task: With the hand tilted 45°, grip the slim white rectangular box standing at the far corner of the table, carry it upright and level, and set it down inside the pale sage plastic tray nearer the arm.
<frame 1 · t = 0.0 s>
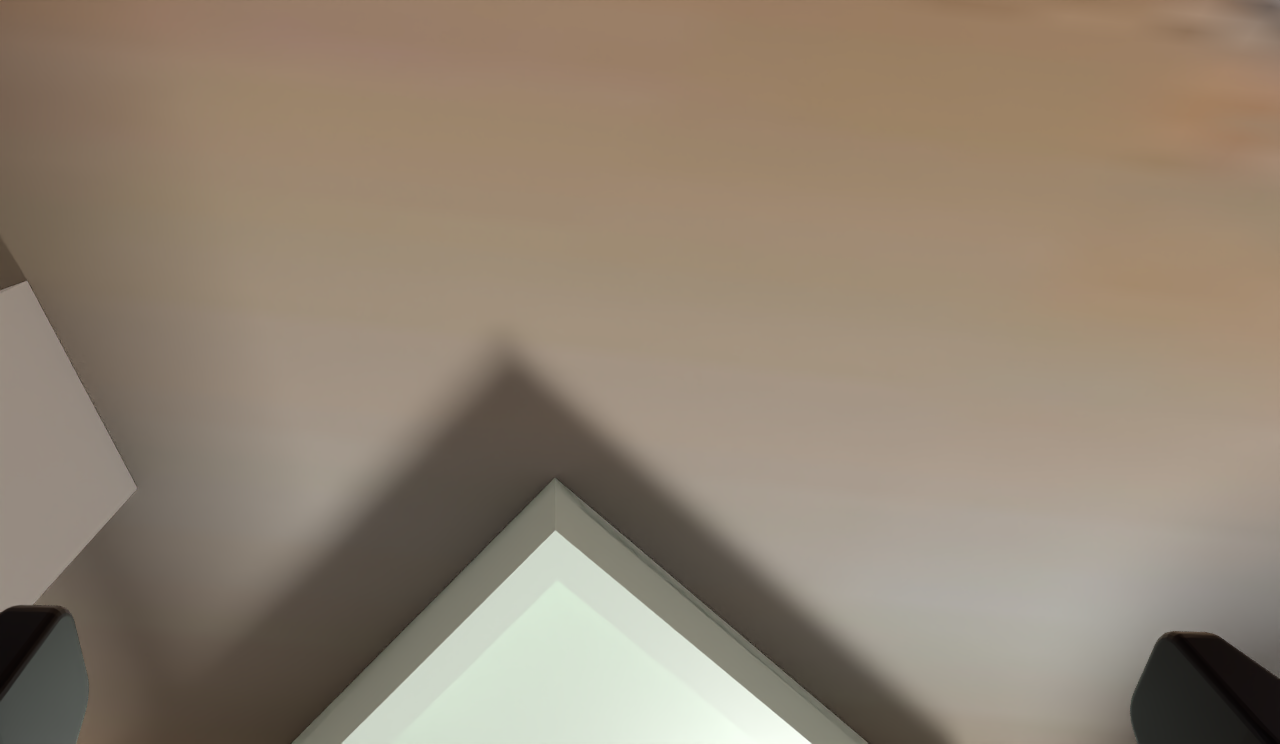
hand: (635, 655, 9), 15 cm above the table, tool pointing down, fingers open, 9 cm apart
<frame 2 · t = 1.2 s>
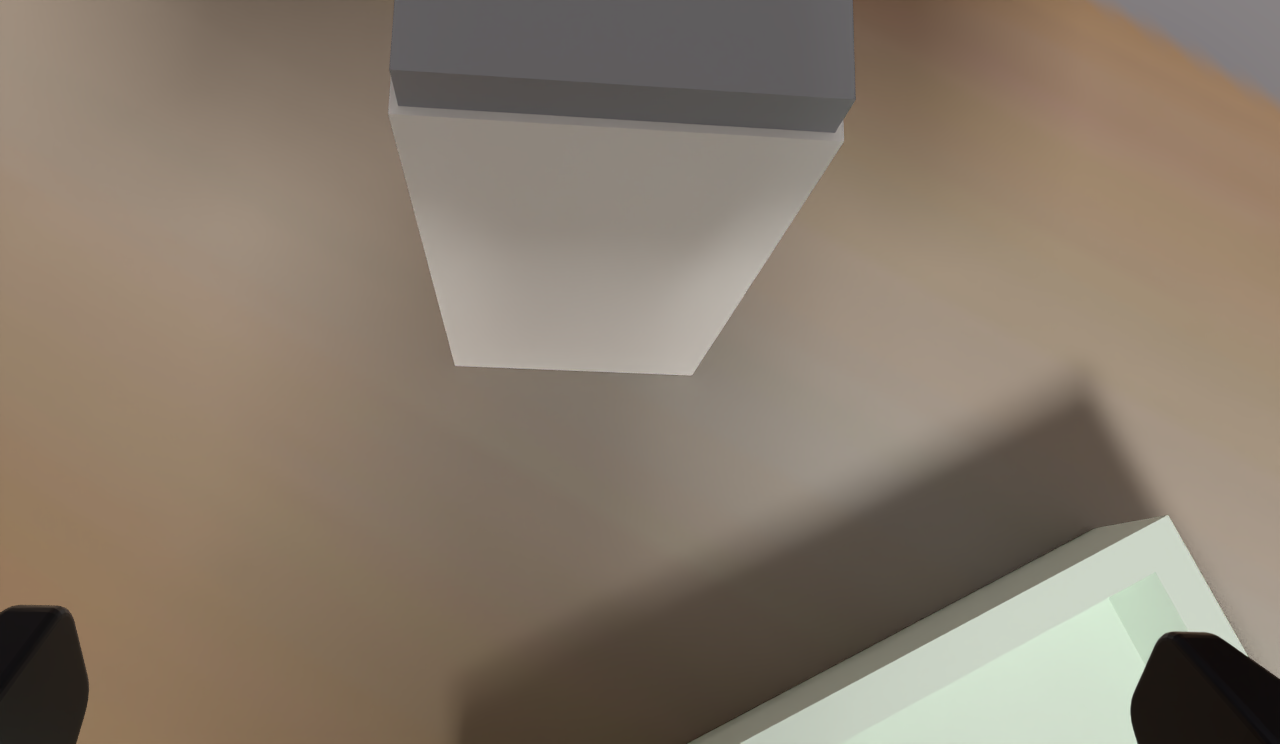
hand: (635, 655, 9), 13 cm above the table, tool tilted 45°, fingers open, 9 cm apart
white rectangular box: (578, 258, 24), on the table
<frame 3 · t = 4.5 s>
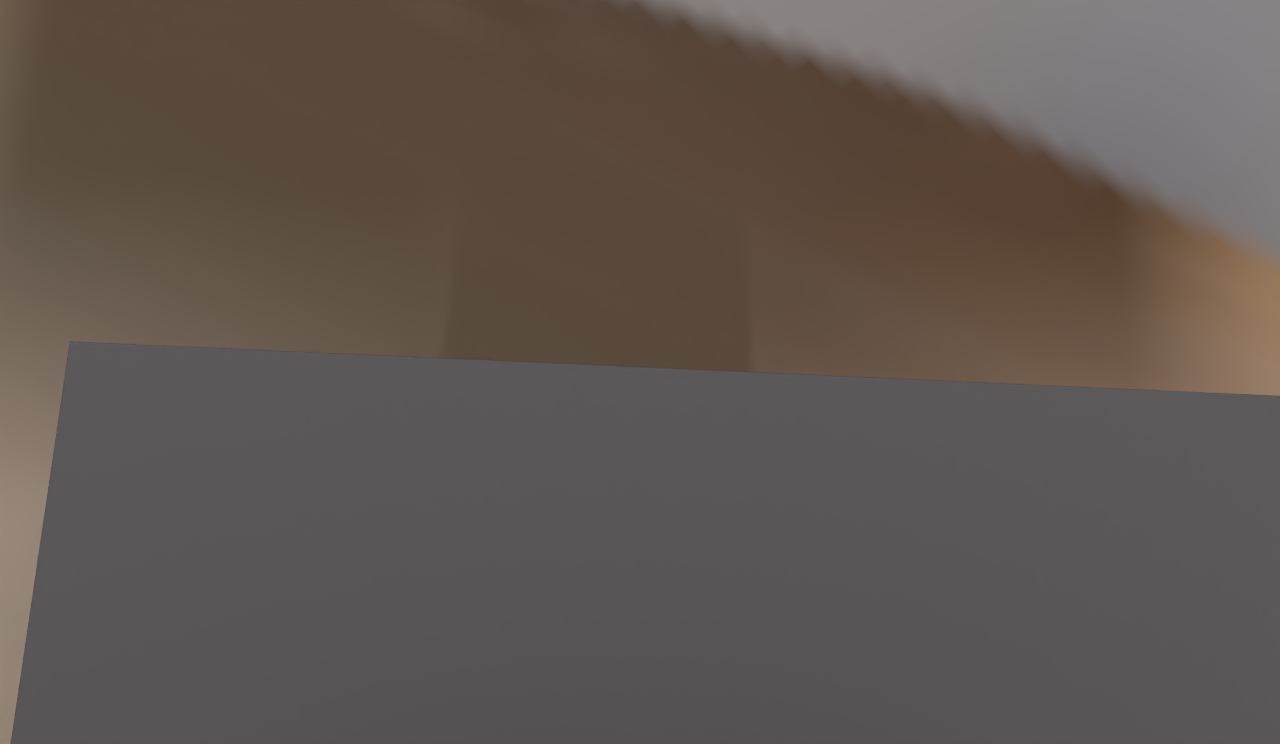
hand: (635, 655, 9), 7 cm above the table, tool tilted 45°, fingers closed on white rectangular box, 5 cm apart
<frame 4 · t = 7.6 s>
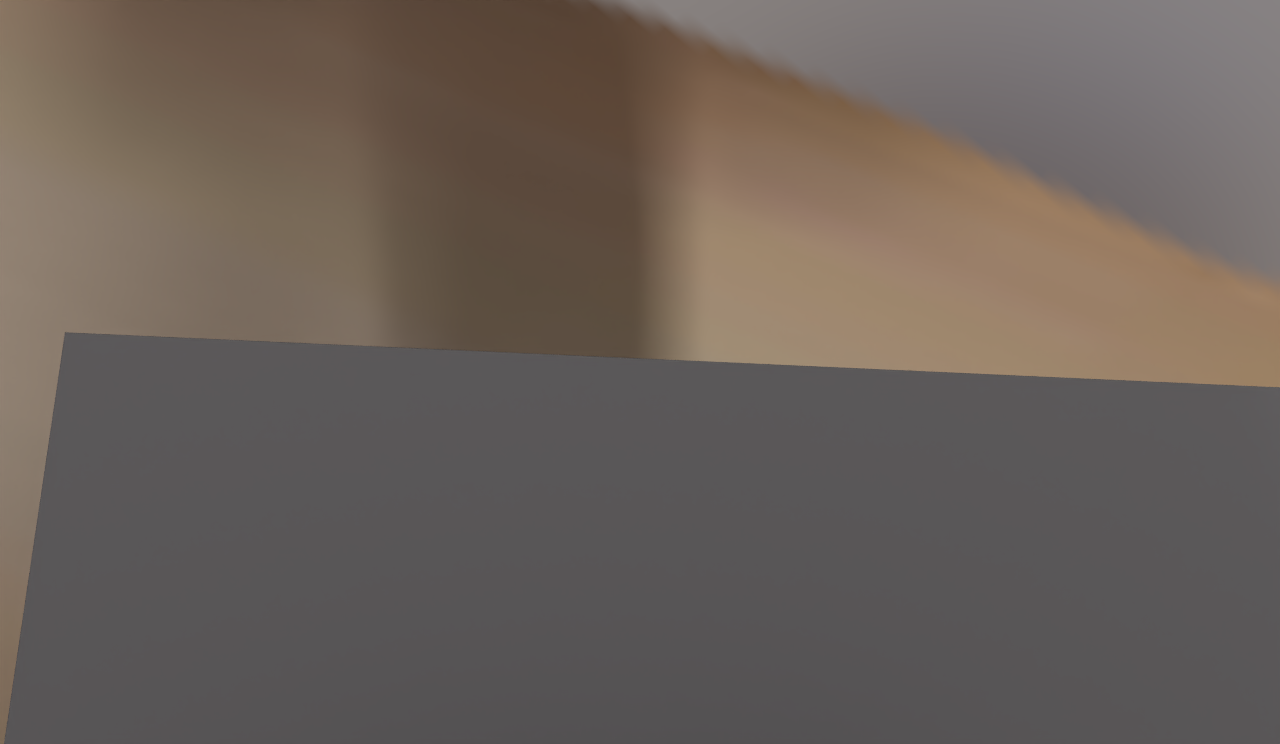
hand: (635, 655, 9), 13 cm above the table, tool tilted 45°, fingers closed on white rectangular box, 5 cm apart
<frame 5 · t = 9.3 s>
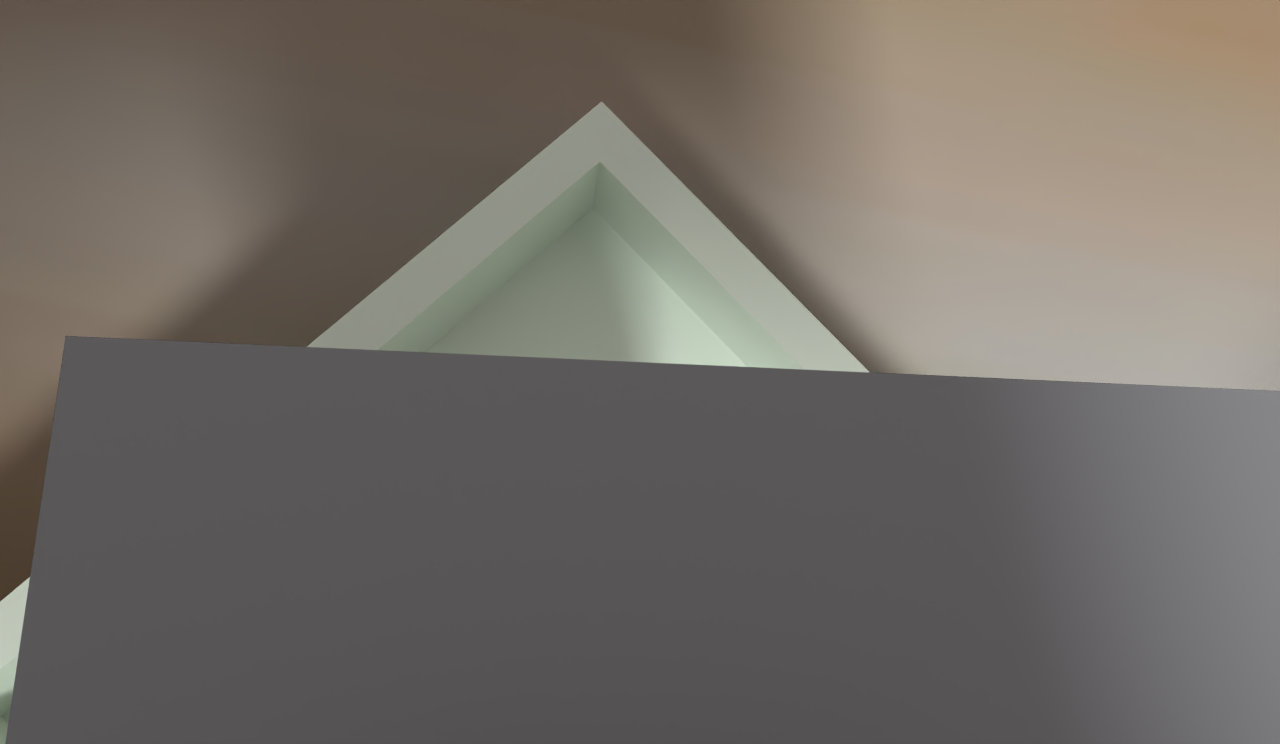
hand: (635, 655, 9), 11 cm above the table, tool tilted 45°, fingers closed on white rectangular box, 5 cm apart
tray: (574, 721, 20), on the table
when the fingers open (9 cm above the table, at t = 10.6 s): white rectangular box drops 1 cm, resting on tray.
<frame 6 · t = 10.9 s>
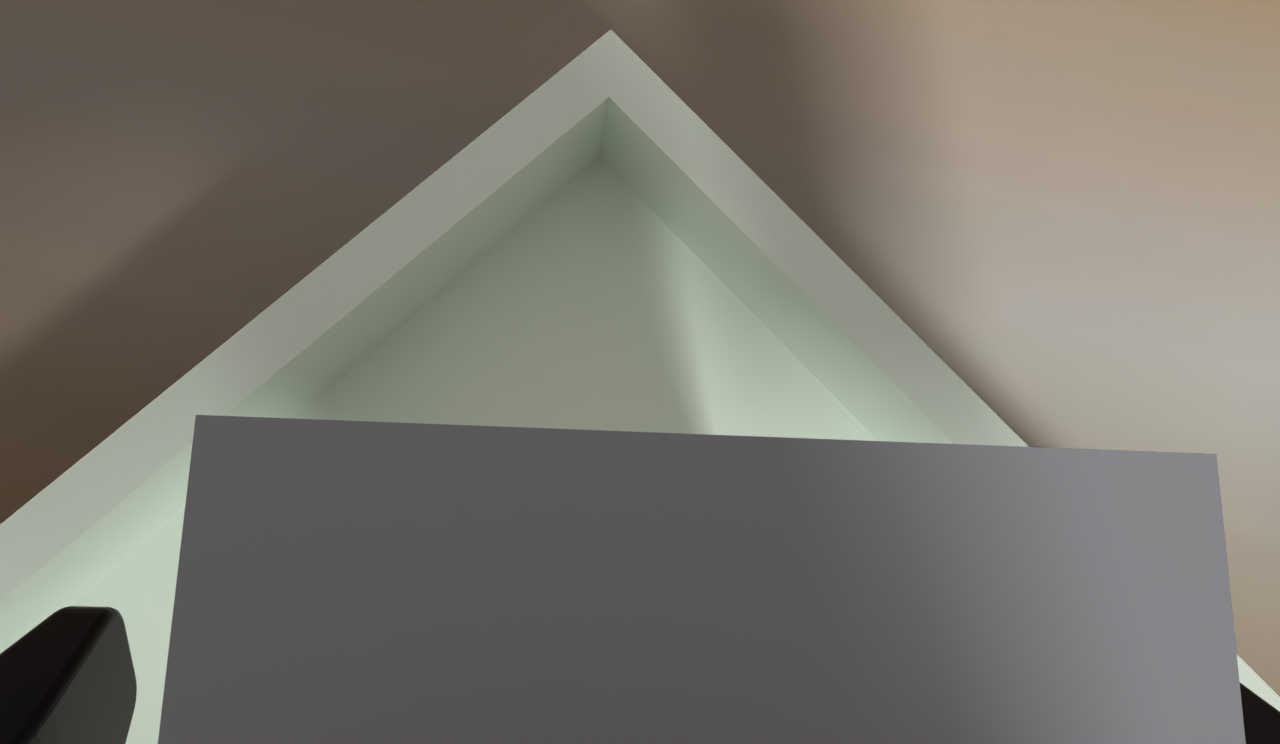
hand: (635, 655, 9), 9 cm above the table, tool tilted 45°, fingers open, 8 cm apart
tray: (579, 739, 17), on the table
white rectangular box: (578, 739, 17), point 1 cm above the table, touching tray
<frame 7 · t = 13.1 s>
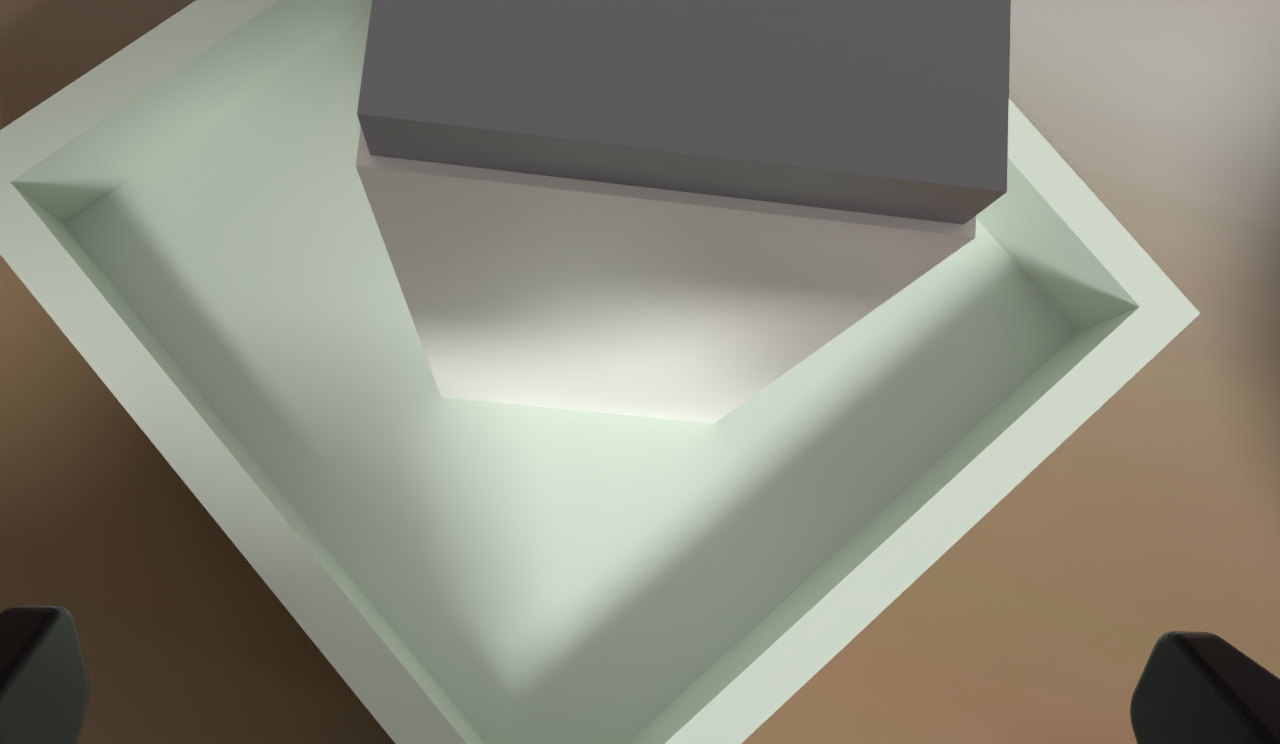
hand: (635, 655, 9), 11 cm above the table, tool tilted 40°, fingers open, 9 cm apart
tray: (591, 289, 21), on the table
white rectangular box: (591, 278, 21), point 1 cm above the table, touching tray
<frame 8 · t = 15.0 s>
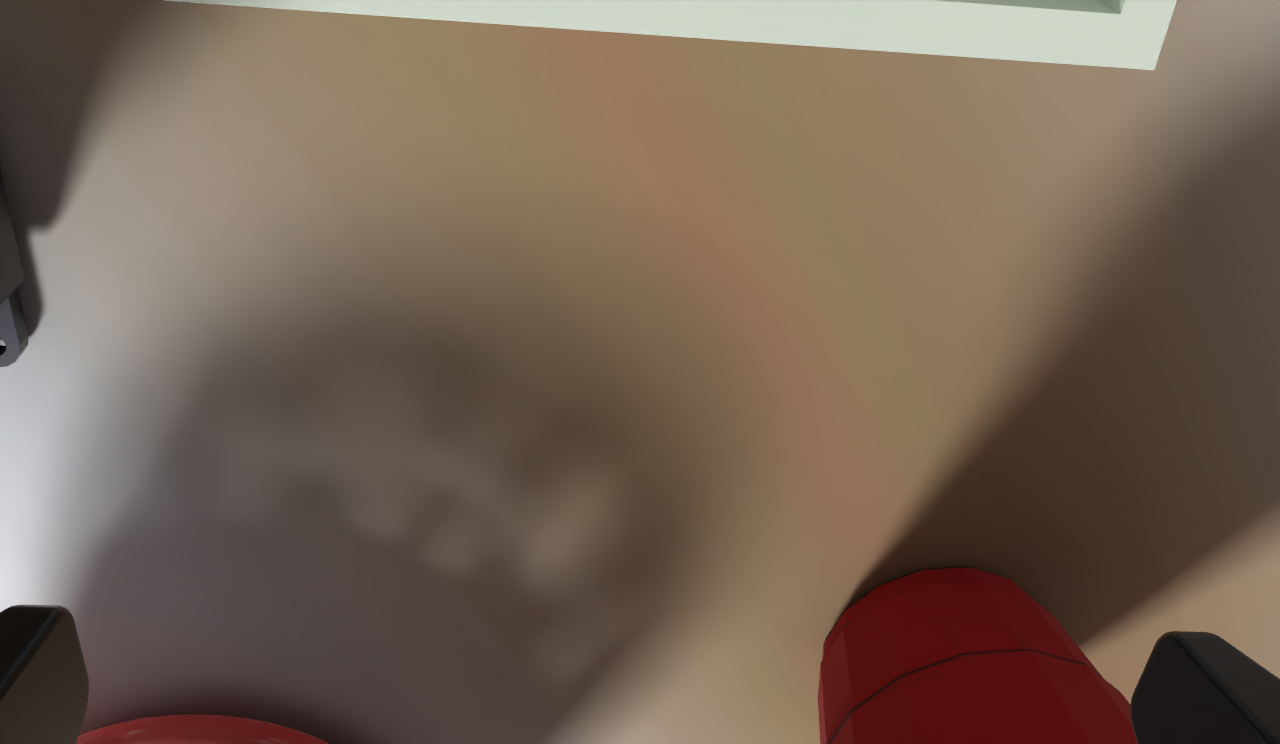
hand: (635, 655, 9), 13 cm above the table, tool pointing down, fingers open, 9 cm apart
plastic cup: (920, 647, 28), on the table
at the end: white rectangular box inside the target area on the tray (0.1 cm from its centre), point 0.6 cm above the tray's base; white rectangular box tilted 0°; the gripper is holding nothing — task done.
